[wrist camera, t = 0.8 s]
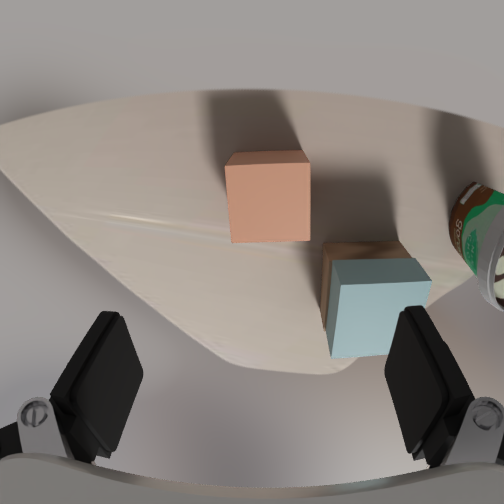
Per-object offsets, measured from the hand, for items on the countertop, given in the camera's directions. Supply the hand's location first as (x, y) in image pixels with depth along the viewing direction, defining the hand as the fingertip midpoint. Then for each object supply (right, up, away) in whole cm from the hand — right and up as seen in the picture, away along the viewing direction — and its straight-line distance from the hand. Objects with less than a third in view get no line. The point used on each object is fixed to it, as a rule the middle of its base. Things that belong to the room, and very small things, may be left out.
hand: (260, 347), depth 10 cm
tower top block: (+11, -1, +19) cm, 22 cm away
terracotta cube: (+1, +9, +18) cm, 21 cm away
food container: (+23, +5, +19) cm, 30 cm away
